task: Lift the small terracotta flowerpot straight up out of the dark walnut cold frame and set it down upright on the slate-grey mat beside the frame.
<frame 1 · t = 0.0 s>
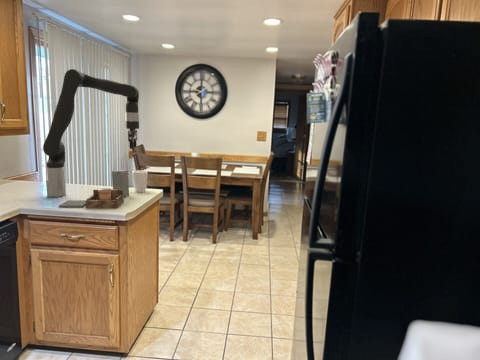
hand: (133, 148, 205), 29 cm above the table, tool pointing down, fingers open, 8 cm apart
slate mat: (75, 204, 186), on the table
foam cup: (140, 191, 224), on the table
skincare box: (121, 196, 209), on the table
cold frame: (105, 204, 187), on the table
flowerpot: (105, 197, 187), in the cold frame
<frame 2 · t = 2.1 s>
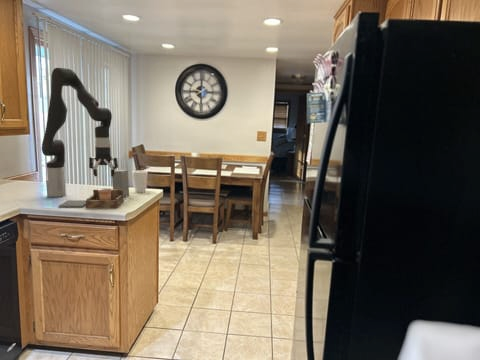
hand: (104, 176, 185), 16 cm above the table, tool pointing down, fingers open, 8 cm apart
nothing on the table moved.
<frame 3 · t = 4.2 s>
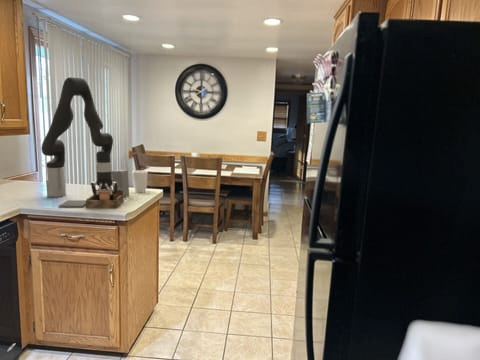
hand: (105, 200, 187), 2 cm above the table, tool pointing down, fingers closed on flowerpot, 5 cm apart
flowerpot: (105, 197, 187), in the cold frame, touching gripper
everything else where it was.
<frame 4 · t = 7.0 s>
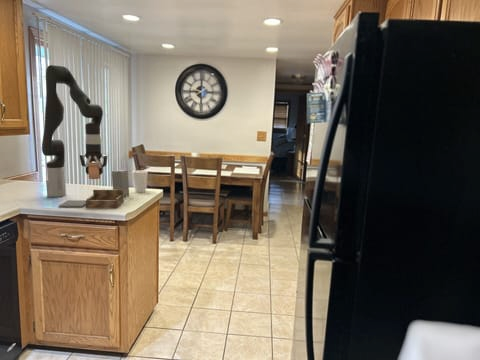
hand: (94, 174, 185), 17 cm above the table, tool pointing down, fingers closed on flowerpot, 5 cm apart
flowerpot: (94, 170, 184), point 19 cm above the table, touching gripper
everything else where it was.
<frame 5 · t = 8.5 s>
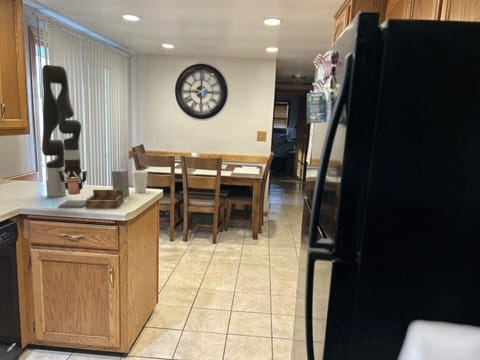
hand: (74, 189, 184), 8 cm above the table, tool pointing down, fingers closed on flowerpot, 5 cm apart
flowerpot: (73, 185, 184), point 11 cm above the table, touching gripper
everything else where it was.
when the fingers open (5 cm above the table, at t = 9.8 s): flowerpot stays where it is, resting on slate mat.
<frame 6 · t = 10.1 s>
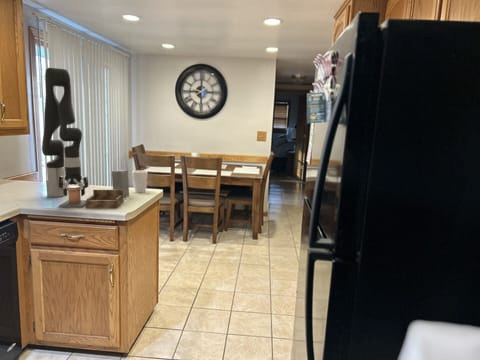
hand: (74, 195, 185), 5 cm above the table, tool pointing down, fingers open, 8 cm apart
flowerpot: (74, 195, 185), on the slate mat, point 5 cm above the table
everything else where it was.
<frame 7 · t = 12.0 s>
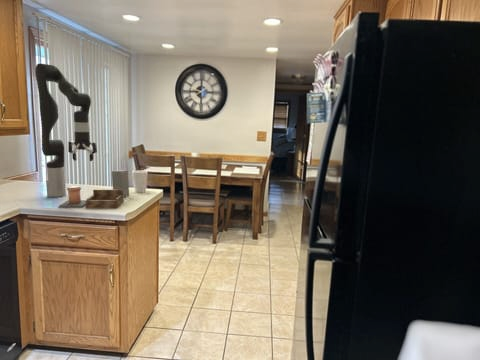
hand: (83, 160, 189), 23 cm above the table, tool pointing down, fingers open, 8 cm apart
nothing on the table moved.
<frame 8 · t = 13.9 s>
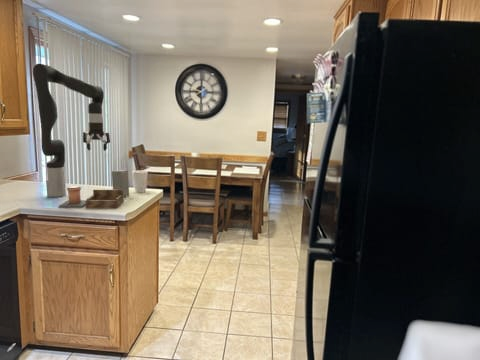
hand: (97, 150, 197), 28 cm above the table, tool pointing down, fingers open, 8 cm apart
nothing on the table moved.
at the end: flowerpot inside the target area on the slate mat (0.0 cm from its centre), point 5.3 cm above the slate mat's base; flowerpot tilted 0°; the gripper is holding nothing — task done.
